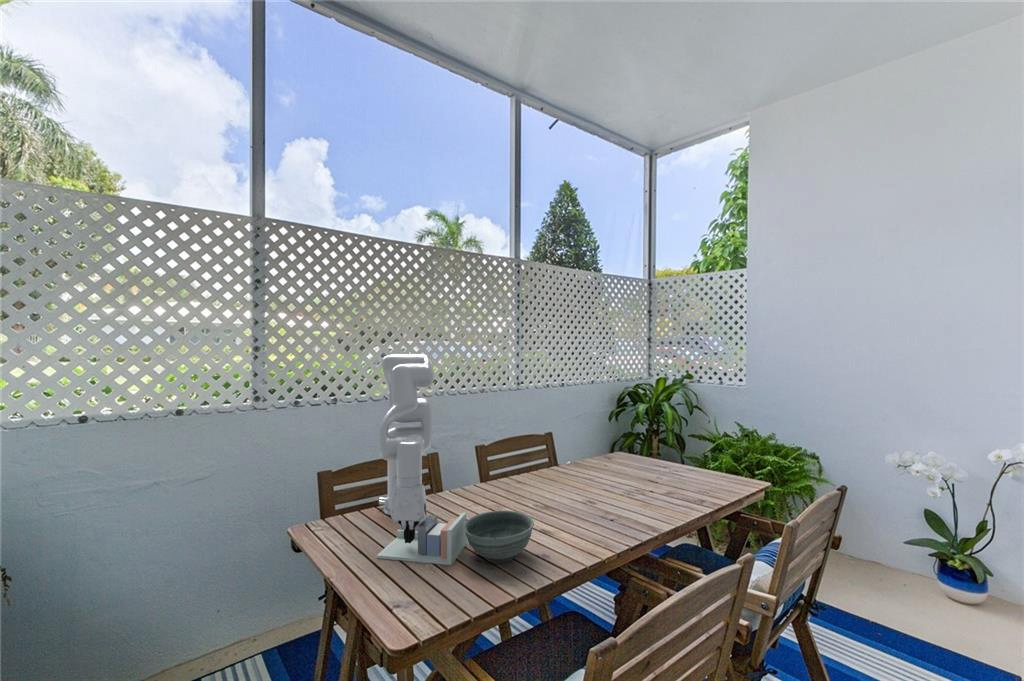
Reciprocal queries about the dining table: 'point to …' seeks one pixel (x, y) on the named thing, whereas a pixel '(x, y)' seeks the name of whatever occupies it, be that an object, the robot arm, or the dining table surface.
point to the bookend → (425, 533)
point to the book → (434, 541)
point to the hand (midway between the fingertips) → (409, 541)
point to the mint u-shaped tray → (450, 549)
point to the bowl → (499, 534)
